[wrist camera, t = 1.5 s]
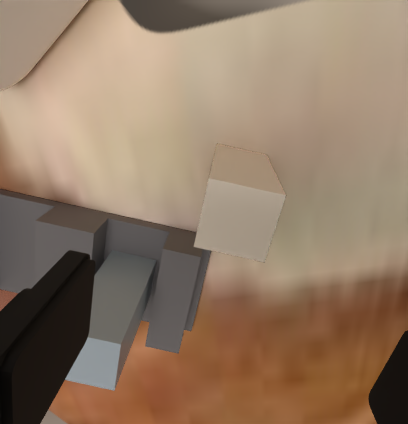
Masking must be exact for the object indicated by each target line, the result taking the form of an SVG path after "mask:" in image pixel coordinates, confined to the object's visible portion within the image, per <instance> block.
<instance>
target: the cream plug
mask: <svg viewBox="0 0 408 424" xmlns="http://www.w3.org/2000/svg"><path fill="white" fill-rule="evenodd" d="M285 198H286V194H285V192H284V190H283V188H282V186H281V184H280V182H279V179H278V177H277V175H276V173H275V171H274V169H273V167H272V165H271V163H270V161H269V159H268V157H267V155H266V154H262V153H257V152H253V151H248V150H244V149H239V148H235V147H230V146H226V145H221V144H217V146H216V150H215V154H214V158H213V162H212V167H211V171H210V175H209V179H208V184H207V188H206V193H205V197H204V202H203V206H202V211H201V216H200V220H199V225H198V229H197V234H196V238H195V243H194V247H197V248H201V249H206V250H210V251H215V252H219V253H224V254H228V255H233V256H237V257H242V258H246V259H251V260H255V261H260V262H264V263H265V260H266V257H267V253H268V250H269V247H270V244H271V241H272V238H273V235H274V232H275V229H276V226H277V223H278V219H279V216H280V213H281V210H282V207H283V204H284V201H285Z"/></svg>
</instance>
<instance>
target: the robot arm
mask: <svg viewBox="0 0 408 424" xmlns="http://www.w3.org/2000/svg"><path fill="white" fill-rule="evenodd" d="M94 275H95V261H94V260H91V259H90V255H89V254H87V253H82V252H78V251H73V250H69V251H67V252H66V253H65V254H64V255H63V257H62V258H61V259H60V260H59V261H58V262H57V263H56V264H55V265H54V266H53V267H52V268H51V269H50V270H49V271H48V272H47V273H46V274H45V275H44V276H43V277H42V278H41V279H40V280H39V281H38V282H37V283H36V284H35V285H34V286H33V287H32V288H31V289H30V288H26V289H23V290H22V291H21V292H19V293H18V294H17V295H16V296H15V297H14V298H13V299H12V300H11V301H10V302H9V303H8V304H7V305H6V306H5V307H4V308H3V309H2V310H1V311H0V424H40V423H41V421H42V419H43V418H44V416H45V414H46V412H47V411H48V409H49V407H50V405H51V403H52V402H53V400H54V398H55V396H56V395H57V393H58V391H59V389H60V387H61V386H62V384H63V382H64V380H65V378H66V377H67V375H68V373H69V371H70V370H71V368H72V366H73V364H74V362H75V361H76V359H77V357H78V355H79V353H80V352H81V350H82V348H83V346H84V345H85V343H86V340H87V338H88V335H89V330H90V319H91V308H92V297H93V286H94ZM369 405H370V408H371V410H372V413H373V415H374V417H375V420H376V422H377V424H408V331H405V332H404V334H403V335H402V337H401V339H400V341H399V342H398V344H397V346H396V348H395V349H394V351H393V353H392V354H391V356H390V358H389V360H388V361H387V363H386V365H385V367H384V368H383V370H382V372H381V374H380V375H379V377H378V379H377V381H376V382H375V384H374V386H373V388H372V389H371V391H370V393H369Z"/></svg>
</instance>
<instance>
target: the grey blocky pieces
mask: <svg viewBox="0 0 408 424" xmlns="http://www.w3.org/2000/svg"><path fill="white" fill-rule="evenodd" d="M196 234H197V233H196V232H191V231H187V230H182V229H178V228H173V227H169V226H164V225H160V224H155V223H151V222H146V221H142V220H137V219H133V218H128V217H124V216H119V215H115V214H110V213H106V212H101V211H97V210H92V209H88V208H83V207H79V206H74V205H70V204H65V203H61V202H56V201H52V200H47V199H43V198H38V197H34V196H29V195H25V194H20V193H16V192H11V191H7V190H2V189H0V289H2V290H7V291H11V292H16V293H19V292H21V291H22V290H23V289H26V288H30V289H31V288H32V287H33V286H34V285H35V284H36V283H37V282H38V281H39V280H40V279H41V278H42V277H43V276H44V275H45V274H46V273H47V272H48V271H49V270H50V269H51V268H52V267H53V266H54V265H55V264H56V263H57V262H58V261H59V260H60V259H61V258H62V257H63V255H64V254H65V253H66V252H67V251H69V250H73V251H78V252H82V253H87V254H89V255H90V259H91V260H94V261H95V274H96V273H97V271H98V270H99V269H100V267H101V266H102V264H103V263H104V261H105V260H106V259H107V257H108V256H109V254H110V253H111V252H112V250H113V251H118V252H122V253H127V254H131V255H136V256H140V257H145V258H149V259H154V260H156V266H155V272H154V277H153V283H152V289H151V295H150V298H149V301H148V303H147V306H146V309H145V311H144V314H143V317H142V319H141V320H142V321H147V322H150V323H149V328H148V334H147V340H146V345H145V346H147V347H151V348H156V349H160V350H165V351H169V352H174V353H179V349H180V345H181V341H182V336H183V332H184V330H188V331H191V330H192V326H193V322H194V318H195V314H196V310H197V306H198V302H199V298H200V294H201V289H202V285H203V281H204V277H205V273H206V269H207V265H208V261H209V257H210V253H211V251H210V250H206V249H201V248H197V247H194V243H195V238H196ZM94 276H95V275H94Z"/></svg>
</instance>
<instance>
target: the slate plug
mask: <svg viewBox="0 0 408 424" xmlns="http://www.w3.org/2000/svg"><path fill="white" fill-rule="evenodd" d="M155 266H156V260H154V259H149V258H145V257H140V256H136V255H131V254H127V253H122V252H118V251H113V250H112V252H111V253H110V254H109V256H108V257H107V259H106V260H105V261H104V263H103V264H102V266H101V267H100V269H99V270H98V271H97V273H96V274H95V276H94V286H93V297H92V308H91V319H90V330H89V335H88V338H87V340H86V343H85V345H84V346H83V348H82V350H81V352H80V353H79V355H78V357H77V359H76V361H75V362H74V364H73V366H72V368H71V370H70V371H69V373H68V375H67V377H66V378H65V380H69V381H73V382H78V383H82V384H87V385H91V386H96V387H100V388H105V389H109V390H115V388H116V385H117V382H118V380H119V377H120V375H121V372H122V369H123V367H124V364H125V361H126V359H127V356H128V353H129V351H130V348H131V346H132V343H133V340H134V338H135V335H136V332H137V330H138V327H139V325H140V322H141V319H142V317H143V314H144V311H145V309H146V306H147V303H148V301H149V298H150V295H151V289H152V283H153V277H154V272H155Z"/></svg>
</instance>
